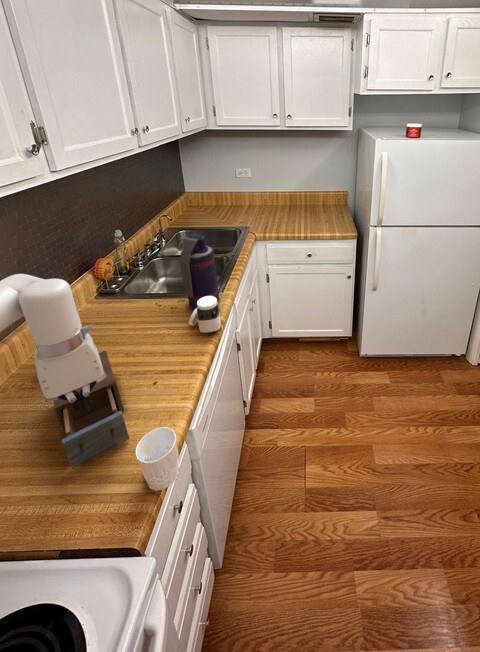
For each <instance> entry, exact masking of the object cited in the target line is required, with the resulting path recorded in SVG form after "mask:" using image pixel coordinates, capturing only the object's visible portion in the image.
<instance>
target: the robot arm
mask: <svg viewBox="0 0 480 652" xmlns="http://www.w3.org/2000/svg"><path fill="white" fill-rule="evenodd" d="M23 317H24V319H25V322H26V324H27V327H28V330H29V333H30V335H31V337H32V341H33V343H34V345H35V349H36V350H35V351H34V352H33V359H34V360H33V361H34V366H35V371H36V375H37V380H38V383H39V386H40V389H41V391H42V395H43V399H44V403H49V402H54V400H57V399H61V400H68V401H69V402H70V403H72V404H73V407H74V409H75V411H77V410H79V412H80V415H82V414H84V413H85V412H89V406H88V405H90V404H92V402H91V398H90V391H91V390H92V388H93V387H94V386H95V384H96V383H97V382H99V381H101V380H103V379H104V378H106V377H107V375H106V372H105V370H104V369H103V367H102V362H101V359H100V356H99V353H100V352H99V351H98V348H97V345H96V343H95V341H94V339H93V338H92V336H91V335H90V333H91V332H93V331H94V329H93V327H92V324H89V325H84V324H82V321H81V318H80V315H79V311H78V308H77V305H76V302H75V298H74V295H73V291H72V288H71V285H70V283H69V282H67V281H66V280H64V279H62V278H47V279H45V278H41V277H38V276H34V275H30V274H26V273H15V274H12V275H9V276H7V277H5V278H3V279H1V280H0V333H1V332H3V331H4V330H5V329H7V328H8V327H10V326H11V325H12V324H14V323H15V322H16V321H18V320H19V319H21V318H23ZM80 387H82V388H81V390H80V393H79V392H78V391H75V389H77V388H80ZM84 410H85V412H84Z"/></svg>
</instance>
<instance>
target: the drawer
mask: <svg viewBox="0 0 480 652" xmlns="http://www.w3.org/2000/svg"><path fill="white" fill-rule="evenodd" d="M90 398H91V402H92V404H90V405H88V406H89V412H85V410H84V412H85V413H84V414H82V415H80V412H79V410H77V411H75V409H74V407H73V404H71V405H69V406H67V407H64V408H63V414H64V423H65V431H66V435H67V437H64V438H62V439H61V445H62V448H63V450H64V453H65V455H66V457H67V460H68V462H69V465H70V468H71V469H72V470H74V469H76V468H77V467H79V466H84V465H86V464H87V463H89V462H91V461H92V460H94V459H96V458H98V457H100V456H102V455H104V454H105V453H108V452H109V451H111V450H113V449H115V448H117V447H118V446H119V445H120V444H122V443H124V442H126V441H127V440H129V439H130V435H129V432H128V429H127V426H126V422H125V419H124V415H123V411H119V412H118V411H117V408H116V404H115V401H114V398H113V394H112V391H111V388H110V387H109V388H107V389H105V390H102V391H100V392H98V393H96V394H93V395H91V396H90Z"/></svg>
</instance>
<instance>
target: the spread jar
mask: <svg viewBox="0 0 480 652" xmlns="http://www.w3.org/2000/svg"><path fill="white" fill-rule="evenodd" d="M220 310H221V309H220V305H219V302H218V303H217V298H216V297H214V296H205V297H202V298H200V299H199V300H198V301H197V308H196V309H194V310H193V311H192V313H191V315H190V316H189V317H190V318H189V319H188V325H189V326H192V327H194V326H195V325H196V324H198V329H199V332H200V333H201V334H203V335H211V334H214V333H217V332H218V331H220V330H221V327H222V318H221V311H220Z"/></svg>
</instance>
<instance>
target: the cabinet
mask: <svg viewBox="0 0 480 652" xmlns="http://www.w3.org/2000/svg"><path fill="white" fill-rule="evenodd" d="M98 353H99V356H100V359H101V362H102V367H103V369H104V370H105V372H106V375H107V377H106V378H104V379H103V380H101V381H99V382H97V383H96V384H95V386H94V387H93V388H92V390H91V391H90V396H91V395H93V394H96V393H98V392H100V391H102V390H105V389H107V388H109V387H110V388H111V391H112V394H113V398H114V401H115V404H116V408H117V411H118V412H119V411H122V412H124V411H125V408H124V406H123V402H122V398H121V396H120V391H119V389H118V385H117V382H116V379H115V376H114V375H115V374H114V372H113V369H112V366H111V362H110V359H109V357H108V353H107V350H103V351H100V352H98ZM81 388H82V387H80V388H77V389H75V391H78V392H79V393H80V390H81ZM71 404H72V403H70V402H69V401H68V400H61V399H57V400H54V401H53V409H54V412H55V415H56V417H57V419H58V422H59V424H60V427H61V430H62V432H63V434H64V438H66V437H67V435H66V431H65V423H64V414H63V408H64V407H67V406H69V405H71Z"/></svg>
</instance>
